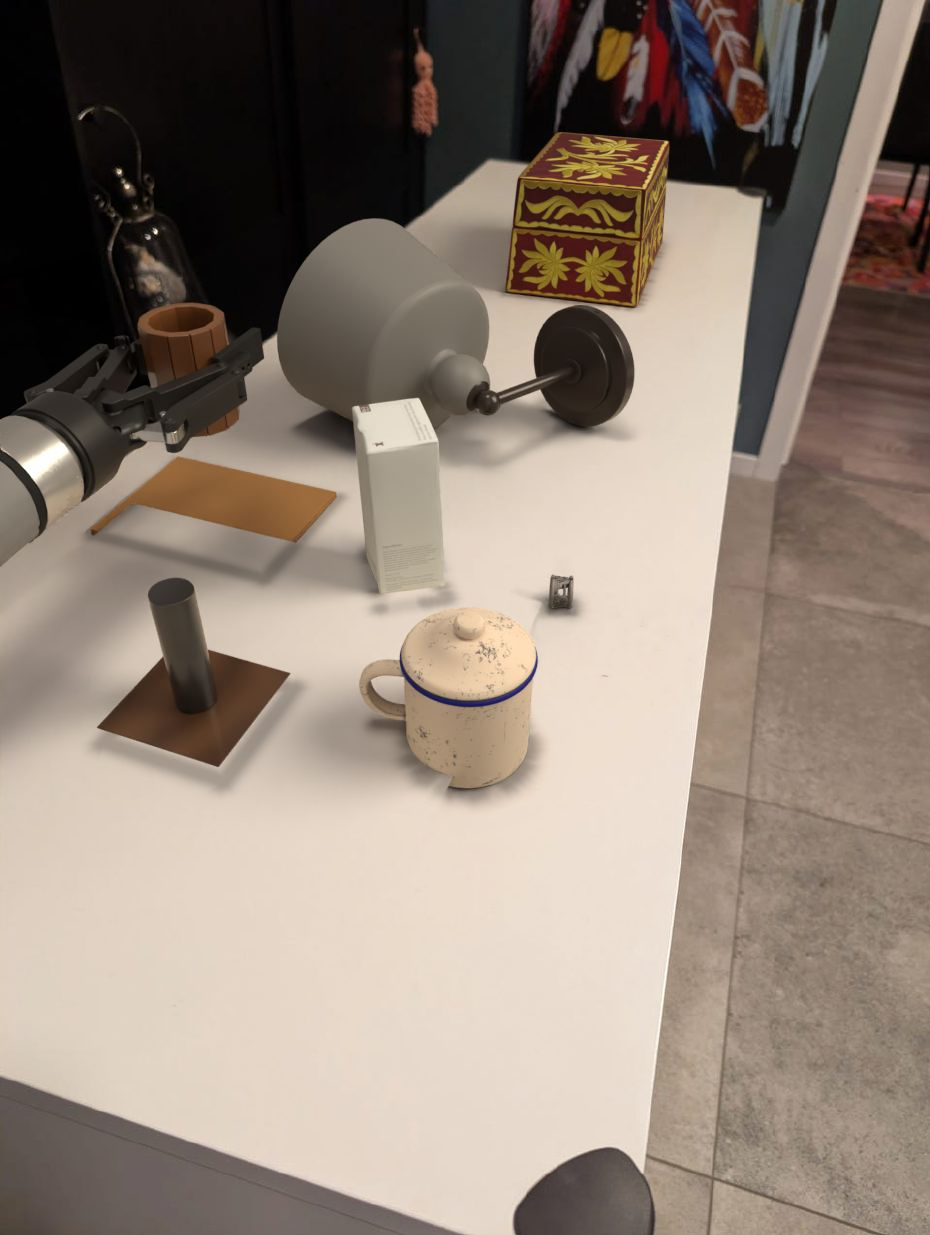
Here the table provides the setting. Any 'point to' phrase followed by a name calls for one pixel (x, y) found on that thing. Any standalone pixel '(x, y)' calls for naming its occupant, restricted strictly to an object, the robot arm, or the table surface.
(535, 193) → the decorative box
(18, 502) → the robot arm
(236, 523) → the wooden board
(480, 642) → the teacup with lid
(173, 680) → the ring holder
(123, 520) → the table surface
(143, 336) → the brown wooden cylinder
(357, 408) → the cosmetic box
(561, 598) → the decorative ring
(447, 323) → the light fixture
